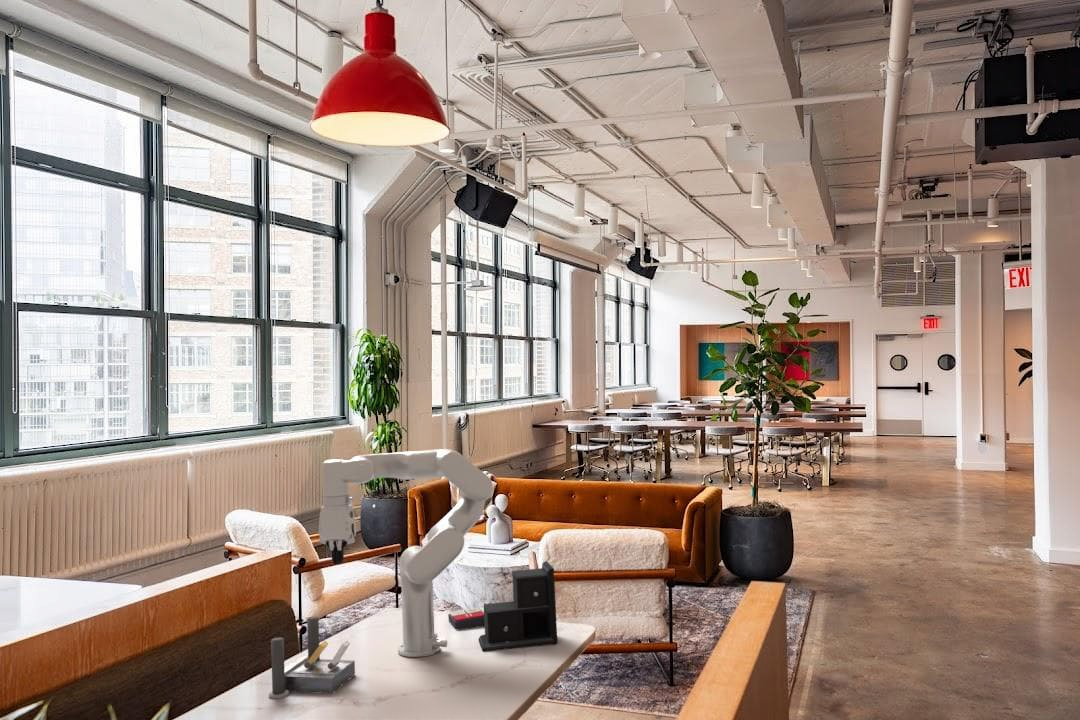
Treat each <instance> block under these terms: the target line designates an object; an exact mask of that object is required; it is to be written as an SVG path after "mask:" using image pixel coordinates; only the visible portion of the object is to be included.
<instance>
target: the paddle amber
mask: <svg viewBox="0 0 1080 720" xmlns="http://www.w3.org/2000/svg"><path fill="white" fill-rule="evenodd" d="M328 645H329V643H328V641H326V640H324V641H323V642H321V643H319V647H318V648H317V649H316V651H315V652H314V653H313V655H312V656H311V657H310V659H309V660H308V661H307V662H306V663H305V664H304V666H305V668H309V667H310V666H312V665H313V664H314V663H315V662H316V660H317V658H318V657H319V656H321V654H322V653H323V651H324V650H325V649H326V647H328Z"/></svg>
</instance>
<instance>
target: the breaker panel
mask: <svg viewBox="0 0 1080 720" xmlns="http://www.w3.org/2000/svg"><path fill="white" fill-rule="evenodd" d="M308 660H309V659H308V656H301V657H300V658H298V659H297V660H296V661H294V662H292V663H291V664H290V665H288V666H286V667H284V671H285V689H287V690H288V691H289V692H293V693H295V691H296V693H313V692H318V693H317V694H319V692H321V693H320V694H334V693H335V692H336V691H338V690H339V689H340V688H341V687H342V686H343V685H345V684H346V683H347V682H348V681H349V680H350V679H349V678H351V677H352V676H353V675H354V674H355V675H356V667H355V666H356V663H355V660H348V659H347V660H346V659H345V660H344V659H340V660H339V664H338V665H336V666H335V667H334V668H332V669H329V668H328V664H329V663H331V661H332V659H326V658H325V659H323V658H320V659H317V660H316V662H315V663H314V664H313V665H312V666H310V667H309V668H305V666H304V664H305V663H306V662H307V661H308ZM355 675H354V676H355ZM354 676H353V677H354ZM353 677H352V678H353ZM352 678H351V679H352ZM348 679H349V680H348ZM347 680H348V681H347ZM346 681H347V682H346ZM345 682H346V683H345ZM344 683H345V684H344ZM342 684H343V685H342ZM341 685H342V686H341ZM340 686H341V687H340ZM339 687H340V688H339ZM338 688H339V689H338ZM334 691H335V692H334ZM333 692H334V693H333Z"/></svg>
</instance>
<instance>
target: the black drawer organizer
mask: <svg viewBox="0 0 1080 720" xmlns="http://www.w3.org/2000/svg"><path fill="white" fill-rule="evenodd" d="M511 573H512V574H511V576H512V594H513V597H512V598H513V599H512V601H504V602H503V601H502V602H494V603H491V602H490V603H484V604H483V607H484V623H485V626H484V634H482V635H479V637H478V643H479V646H480V648H481V650H482V652H492V651H493V652H494V651H501V650H502V651H503V650H510V649H519V648H520V649H521V648H529V647H530V648H531V647H537V646H538V647H539V646H547V645H557V644H558V643H559V641H558V627H557V623H558V622H557V608H556V607H557V606H556V587H555V586H556V585H555V568H554V567H553V565H551V564H550V562H549V561H548V560H546V561H543V562H542V564H541V568H540V567H539V568H531V569H530V568H529V569H521V570H519V569H518V570H512V571H511Z"/></svg>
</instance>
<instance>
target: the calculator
mask: <svg viewBox="0 0 1080 720" xmlns="http://www.w3.org/2000/svg"><path fill="white" fill-rule="evenodd" d="M447 615H448V623H449V624H450V623H451V624H450V625H451V627H453V628H455V629H460V630H466V628H468V629H474V628H480V627H485V623H484V606H481V607H472V608H468V609H467V608H466V609H464V610H463V609H462V610H461V609H460V610H456V611H451V612H449V613H448V614H447ZM455 629H454V630H455Z"/></svg>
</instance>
